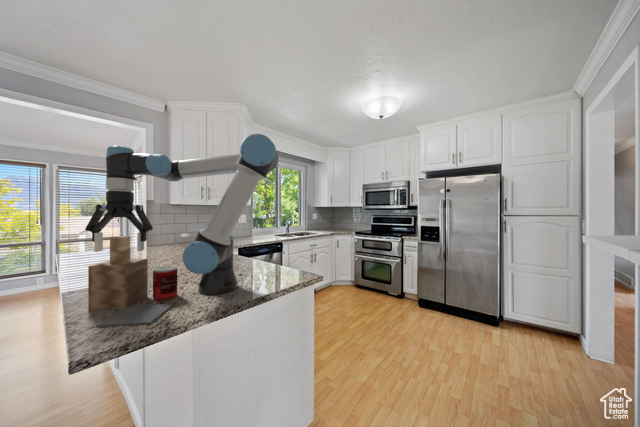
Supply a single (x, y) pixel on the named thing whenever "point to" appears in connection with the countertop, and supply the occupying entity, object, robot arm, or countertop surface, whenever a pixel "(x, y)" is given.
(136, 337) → the countertop surface
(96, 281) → the wooden stepped block
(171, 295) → the canned food
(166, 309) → the mat
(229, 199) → the robot arm
